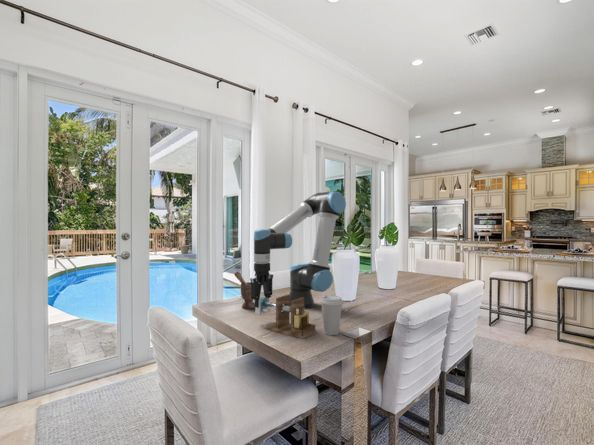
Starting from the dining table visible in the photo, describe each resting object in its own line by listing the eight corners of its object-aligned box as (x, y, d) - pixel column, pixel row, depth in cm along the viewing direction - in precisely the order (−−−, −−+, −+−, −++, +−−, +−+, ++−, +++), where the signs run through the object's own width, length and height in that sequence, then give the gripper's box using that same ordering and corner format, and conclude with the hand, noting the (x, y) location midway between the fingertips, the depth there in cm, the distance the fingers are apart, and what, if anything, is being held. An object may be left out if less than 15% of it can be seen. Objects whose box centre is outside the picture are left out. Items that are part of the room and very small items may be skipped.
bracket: (265, 328, 137) (265, 296, 137) (279, 322, 145) (279, 292, 145) (302, 338, 125) (302, 304, 125) (315, 331, 133) (315, 299, 133)
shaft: (256, 308, 144) (256, 298, 144) (262, 306, 147) (263, 297, 147) (290, 317, 132) (290, 306, 132) (297, 314, 136) (297, 303, 135)
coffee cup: (318, 328, 137) (318, 294, 137) (340, 328, 138) (340, 294, 138) (322, 336, 127) (322, 300, 127) (345, 336, 128) (345, 300, 128)
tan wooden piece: (294, 332, 129) (294, 315, 129) (304, 327, 135) (304, 310, 135) (298, 334, 128) (298, 316, 128) (308, 329, 134) (308, 311, 134)
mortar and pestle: (240, 311, 162) (240, 273, 162) (232, 307, 169) (232, 271, 169) (259, 307, 169) (259, 271, 169) (251, 304, 176) (251, 269, 176)
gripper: (254, 265, 135) (254, 319, 135) (280, 261, 149) (280, 309, 149) (242, 264, 139) (242, 315, 140) (268, 260, 154) (268, 307, 154)
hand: (261, 312), depth 145 cm, fingers closed on shaft, 5 cm apart
